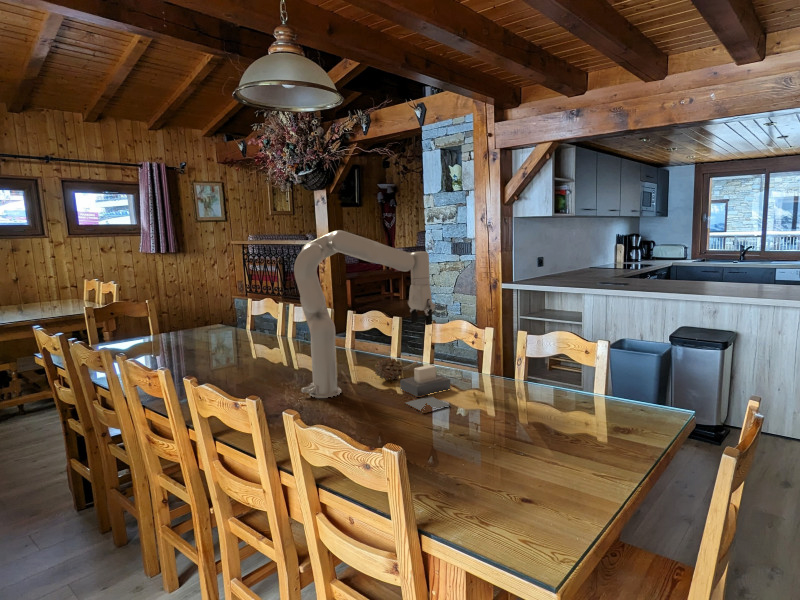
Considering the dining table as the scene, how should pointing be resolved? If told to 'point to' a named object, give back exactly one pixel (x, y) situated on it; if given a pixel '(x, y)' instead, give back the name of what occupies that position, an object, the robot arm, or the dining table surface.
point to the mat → (429, 400)
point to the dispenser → (425, 385)
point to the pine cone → (390, 368)
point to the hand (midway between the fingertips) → (421, 323)
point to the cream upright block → (424, 373)
